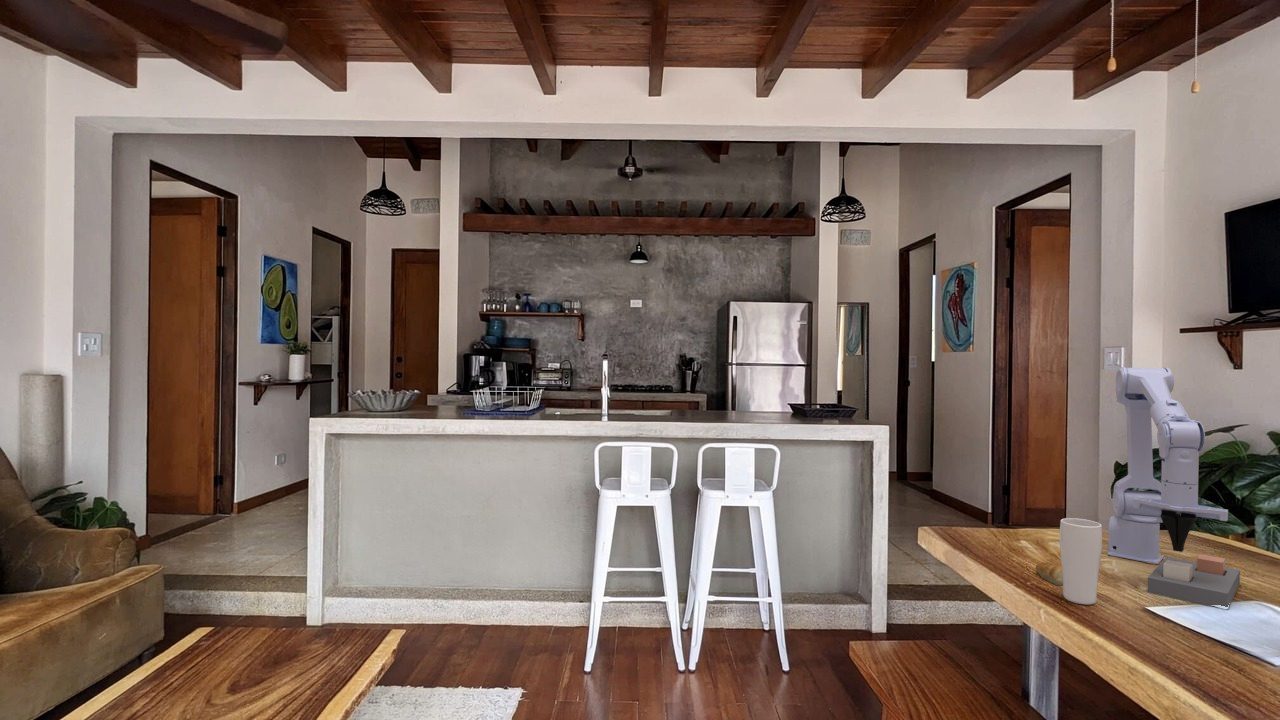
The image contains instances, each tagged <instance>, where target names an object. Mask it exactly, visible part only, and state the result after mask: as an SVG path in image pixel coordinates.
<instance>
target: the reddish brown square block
mask: <svg viewBox="0 0 1280 720" xmlns="http://www.w3.org/2000/svg"><path fill="white" fill-rule="evenodd" d="M1196 562H1197V571H1201V572H1206V573H1212V574H1217V575H1222V576H1224V574H1225V567H1226V557H1225V558H1223V557H1218V556H1212V555H1206V554H1201V553H1200V554H1199V555H1198V557H1197V558H1196Z"/></svg>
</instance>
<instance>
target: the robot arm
mask: <svg viewBox="0 0 1280 720" xmlns="http://www.w3.org/2000/svg"><path fill="white" fill-rule="evenodd" d="M1174 378H1175V376H1174V374H1173V371H1172V370H1171V369H1170V368H1169V367H1163V368H1162V367H1161V368H1160V367H1125V366H1122V367H1119V368H1118V370H1117V371H1116V376H1115V397H1116V402H1117V403H1119V404H1122V405H1124V407H1125V408H1124V409H1125V414H1126V447H1127V450H1126V451H1127V474H1126V476H1123V478H1120V479H1119V480H1117V481H1116V482H1115V483H1114V485H1113V493H1112V507H1113V508H1112V509H1113V512H1114V513H1115V514H1116V515H1111V516H1110V518H1109V522H1108V536H1107V537H1108V543H1107V546H1108V547H1107V548H1108V549H1107V555H1108V556H1112V557H1116V558H1122V559H1129V560H1131V561H1132V560H1133V561H1139V562H1143V563H1149V564H1154V565H1159V563H1161V562H1162V561H1163V560H1164V559H1165V558H1164V557H1165V556H1164V555H1163V554H1160V535H1161V534H1160V533H1161V532H1160V530H1161V529H1160V525H1161V524H1160V523H1163V525H1164V526H1165V528H1166V530H1167V533H1168V535H1169V538H1170V541H1171V546H1172V551H1174V552H1180V553H1183V552H1184V550H1185V544H1186V541H1187V537H1188V535H1189V533H1190V531H1191V529H1192V528H1193V525H1194V524H1195V522H1196V521H1197V519H1198V517H1199V518H1204V519H1205V518H1206V519H1214V520H1219V521H1221V522H1228V520H1229V509H1225V508H1218V507H1213V506H1212V507H1211V506H1208V505H1203V504H1199V465H1200V464H1199V461H1200V458H1199V457H1200V454H1199V453H1200V452H1202V451H1203V449H1204V446H1205V444H1206V434H1205V433H1206V432H1205V428H1204V426H1203V424H1202V422H1201V421H1198V420H1197V421H1196V419H1191V418H1190V416H1189V414H1188V413H1187V411H1186V409H1185V407H1184V406H1183V404H1182V403H1181V402H1180V401H1178V400H1176V399H1173V397H1172V392H1173V390H1174V386H1175V379H1174ZM1152 421H1153V423H1154V425H1155V426H1156V429H1157V431H1156V432H1157V433H1156V437H1157V445H1158V454H1159V457H1160V458H1161V479H1160V480H1161V481H1159V480H1157V479H1156V478H1154V465H1153V464H1154V463H1153V462H1154V461H1153V458H1154V457H1153V430H1152V426H1153V425H1152V424H1153V423H1152ZM1137 489H1143V490H1137ZM1150 490H1151V491H1150Z"/></svg>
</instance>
